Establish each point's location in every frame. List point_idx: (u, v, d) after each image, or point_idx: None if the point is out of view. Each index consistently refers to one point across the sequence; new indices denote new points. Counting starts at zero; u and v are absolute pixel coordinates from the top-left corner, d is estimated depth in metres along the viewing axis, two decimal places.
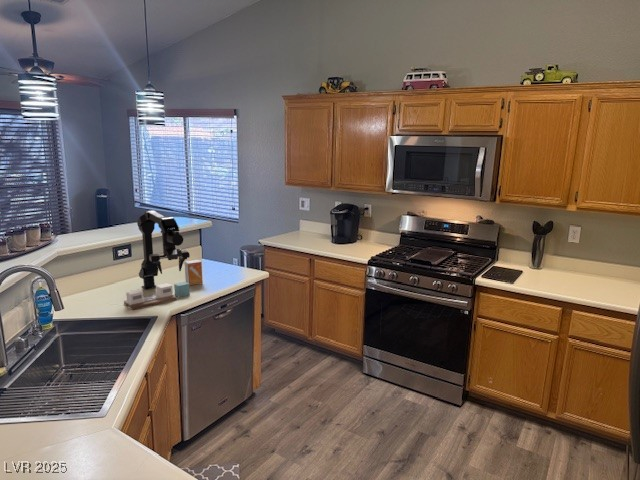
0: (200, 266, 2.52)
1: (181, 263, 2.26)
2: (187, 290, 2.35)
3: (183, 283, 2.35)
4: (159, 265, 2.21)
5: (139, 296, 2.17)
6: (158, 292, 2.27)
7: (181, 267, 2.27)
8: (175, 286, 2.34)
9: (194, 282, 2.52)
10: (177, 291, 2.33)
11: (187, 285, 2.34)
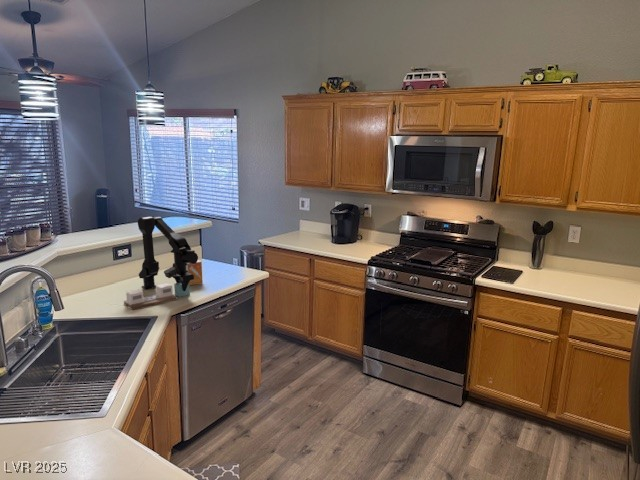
0: (200, 266, 2.52)
1: (182, 284, 2.31)
2: (187, 290, 2.35)
3: None
4: None
5: (139, 296, 2.17)
6: (158, 292, 2.27)
7: (183, 287, 2.32)
8: (175, 286, 2.34)
9: (194, 282, 2.52)
10: (177, 291, 2.33)
11: None
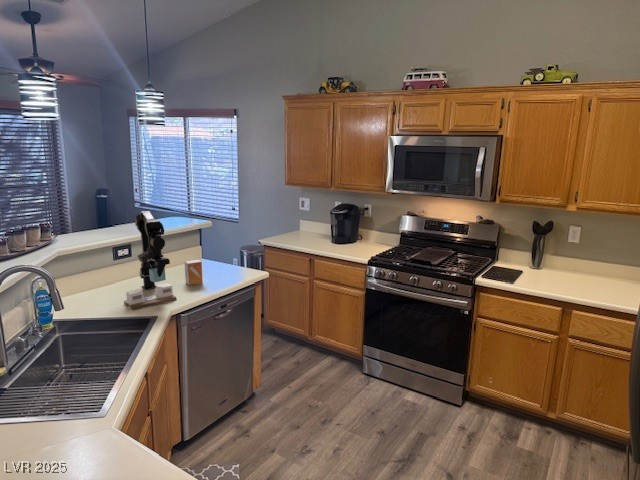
0: (200, 266, 2.52)
1: (157, 269, 2.21)
2: (163, 275, 2.24)
3: None
4: (150, 265, 2.25)
5: (139, 296, 2.17)
6: (158, 292, 2.27)
7: (158, 273, 2.21)
8: (150, 271, 2.23)
9: (194, 282, 2.52)
10: (152, 276, 2.22)
11: (163, 270, 2.24)
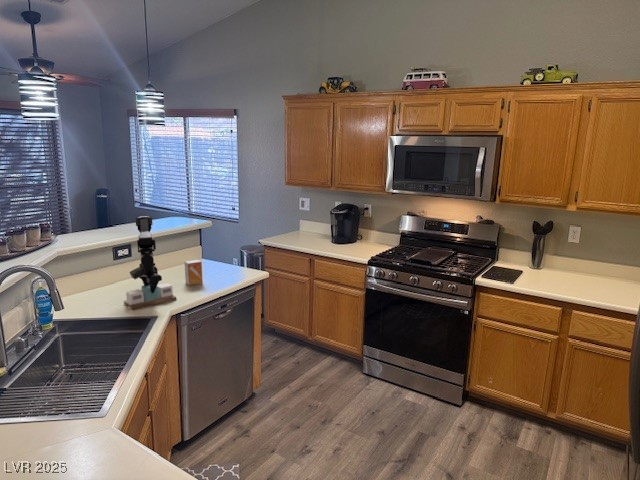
0: (200, 266, 2.52)
1: (150, 285, 2.19)
2: (155, 293, 2.23)
3: None
4: (142, 280, 2.25)
5: (139, 296, 2.17)
6: (158, 292, 2.27)
7: (151, 289, 2.19)
8: (142, 289, 2.22)
9: (194, 282, 2.52)
10: (144, 294, 2.21)
11: None
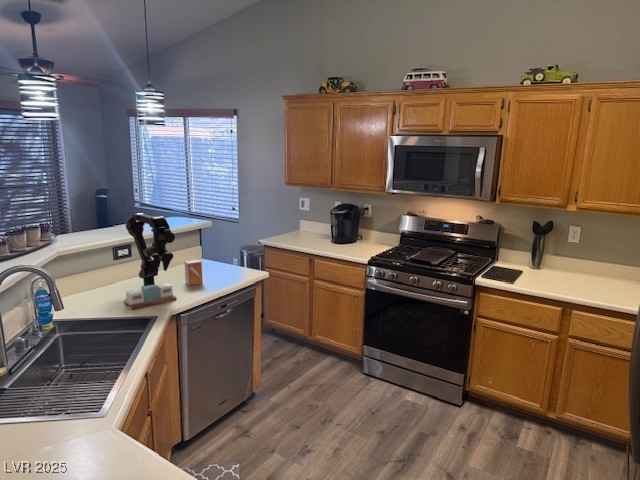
0: (200, 266, 2.52)
1: None
2: (155, 293, 2.23)
3: (151, 286, 2.24)
4: (154, 259, 2.38)
5: (139, 296, 2.17)
6: (158, 292, 2.27)
7: (164, 267, 2.32)
8: (142, 289, 2.22)
9: (194, 282, 2.52)
10: (144, 294, 2.21)
11: (155, 288, 2.23)
